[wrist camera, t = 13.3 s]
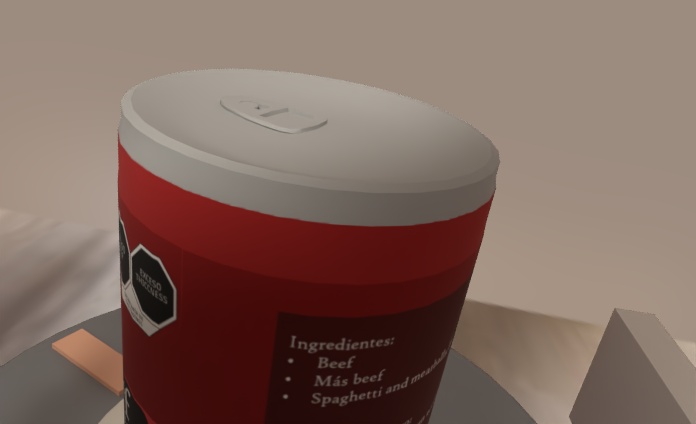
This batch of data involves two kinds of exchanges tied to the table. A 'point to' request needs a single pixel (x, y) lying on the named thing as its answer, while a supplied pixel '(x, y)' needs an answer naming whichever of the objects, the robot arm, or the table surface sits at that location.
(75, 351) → the turntable
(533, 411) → the table surface
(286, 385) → the canned food
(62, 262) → the table surface
